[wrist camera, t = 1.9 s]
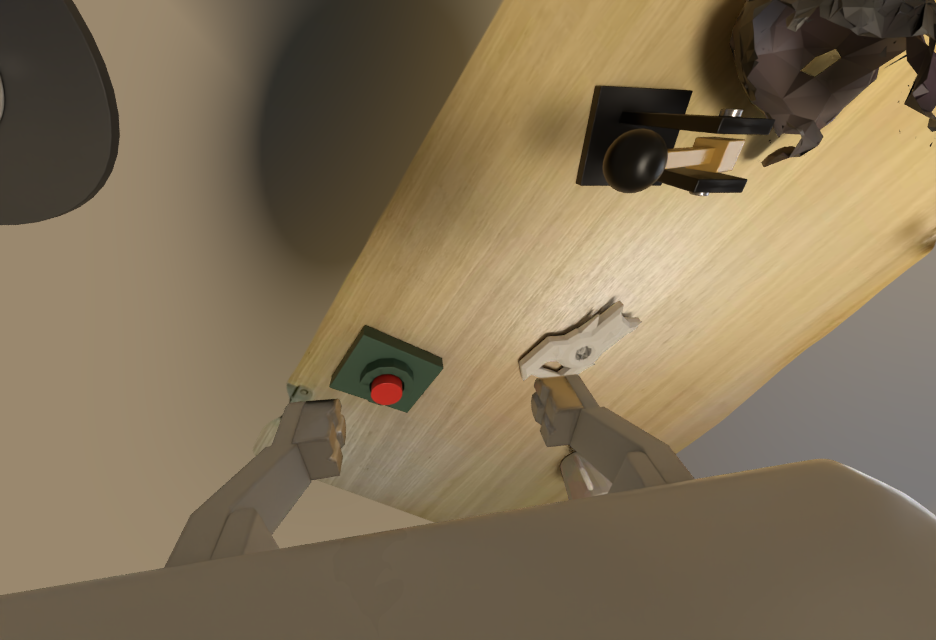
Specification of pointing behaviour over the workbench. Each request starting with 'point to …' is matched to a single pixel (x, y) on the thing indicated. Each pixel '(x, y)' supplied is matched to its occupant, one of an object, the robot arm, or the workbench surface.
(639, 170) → the lever
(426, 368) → the button box
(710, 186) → the black lever stand
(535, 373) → the beige holed clip
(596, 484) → the mug
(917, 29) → the crumpled paper
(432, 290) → the workbench surface
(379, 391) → the button
